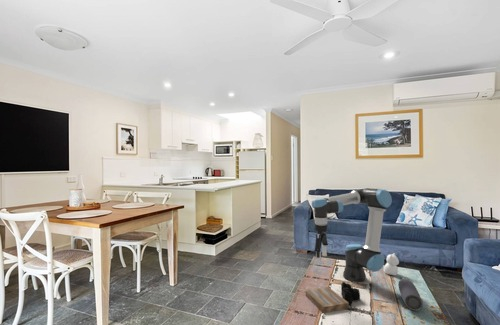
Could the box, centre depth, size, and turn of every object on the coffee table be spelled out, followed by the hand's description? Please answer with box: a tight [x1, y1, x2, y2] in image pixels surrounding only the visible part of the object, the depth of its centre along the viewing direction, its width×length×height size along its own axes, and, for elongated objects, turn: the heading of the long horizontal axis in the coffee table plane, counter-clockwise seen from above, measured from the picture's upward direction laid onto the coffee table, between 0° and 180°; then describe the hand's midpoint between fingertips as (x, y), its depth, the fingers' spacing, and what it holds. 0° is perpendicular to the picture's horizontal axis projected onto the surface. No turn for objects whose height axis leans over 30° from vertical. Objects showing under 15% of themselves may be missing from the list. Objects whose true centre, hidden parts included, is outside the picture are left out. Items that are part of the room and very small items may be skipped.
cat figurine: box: [381, 252, 400, 276], centre depth 189 cm, size 9×12×15 cm
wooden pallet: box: [305, 286, 350, 314], centre depth 148 cm, size 16×20×3 cm
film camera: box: [340, 281, 361, 306], centre depth 151 cm, size 15×10×9 cm, turn 168°
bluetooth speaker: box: [397, 277, 423, 311], centre depth 147 cm, size 23×9×10 cm, turn 157°
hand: (321, 259), depth 154 cm, fingers open, 13 cm apart
